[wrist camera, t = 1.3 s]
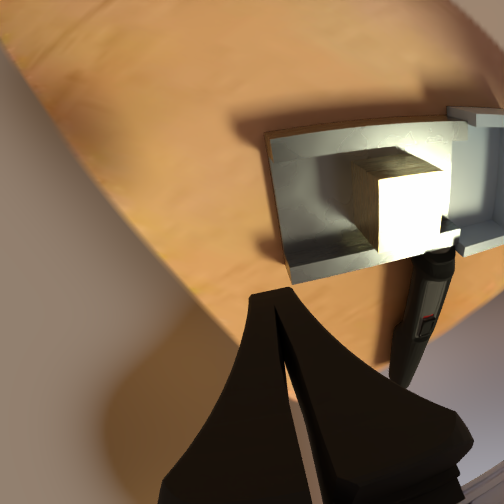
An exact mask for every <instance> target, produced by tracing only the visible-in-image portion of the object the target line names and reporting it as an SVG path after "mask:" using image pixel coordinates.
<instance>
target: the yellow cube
mask: <svg viewBox="0 0 504 504" xmlns="http://www.w3.org/2000/svg"><path fill="white" fill-rule="evenodd" d="M351 172H352V188H353V209H354V225H355V226H356V227H357V228H358V230H359V231H360V232H361V233H362V234H363V236H364V237H365V238H366V239H367V240H368V241H369V243H370V244H371V245H372V246H373V248H374V249H375V250H376V251H377V252H378V253H382V252H387V251H391V250H395V249H399V248H403V247H407V246H412V245H416V244H420V243H424V242H428V241H432V240H436V239H439V232H440V223H441V213H442V201H443V187H444V170H442V169H440V168H438V167H436V166H434V165H432V164H430V163H429V162H427V161H425V160H423V159H421V158H418V157H416V156H414V155H412V154H410V153H409V154H400V155H391V156H383V157H375V158H368V159H360V160H353V161H351Z"/></svg>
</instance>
